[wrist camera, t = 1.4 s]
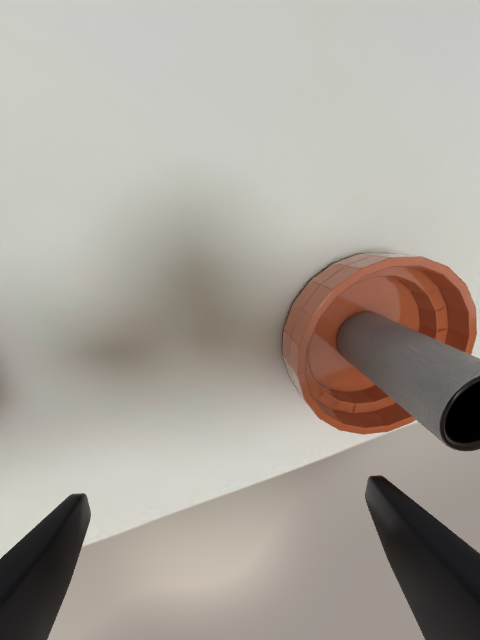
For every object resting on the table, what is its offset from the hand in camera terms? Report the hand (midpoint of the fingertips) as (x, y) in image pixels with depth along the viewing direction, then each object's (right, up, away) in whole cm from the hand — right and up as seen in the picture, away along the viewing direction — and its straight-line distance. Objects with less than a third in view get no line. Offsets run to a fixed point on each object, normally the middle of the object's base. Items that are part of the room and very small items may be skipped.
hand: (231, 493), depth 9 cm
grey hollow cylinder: (+10, +4, +14) cm, 18 cm away
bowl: (+10, +4, +14) cm, 18 cm away
